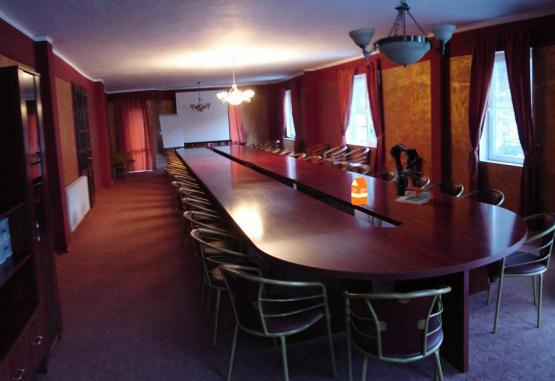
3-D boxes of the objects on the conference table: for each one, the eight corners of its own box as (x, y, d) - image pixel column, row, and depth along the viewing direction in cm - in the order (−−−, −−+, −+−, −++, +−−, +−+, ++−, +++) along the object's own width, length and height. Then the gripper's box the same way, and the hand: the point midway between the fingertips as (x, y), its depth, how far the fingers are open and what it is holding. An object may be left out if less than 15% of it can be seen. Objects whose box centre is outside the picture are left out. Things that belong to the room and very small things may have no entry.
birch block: (405, 198, 372) (405, 191, 371) (408, 196, 376) (408, 190, 375) (412, 198, 368) (412, 192, 367) (415, 197, 372) (415, 191, 371)
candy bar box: (408, 188, 409) (409, 169, 406) (407, 189, 405) (407, 170, 402) (395, 188, 415) (395, 169, 412) (394, 189, 410) (394, 170, 407)
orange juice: (351, 204, 358) (351, 177, 354) (360, 202, 362) (360, 176, 358) (358, 205, 351) (357, 178, 347) (367, 204, 355) (367, 177, 351)
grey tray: (395, 201, 360) (395, 197, 359) (403, 198, 368) (403, 195, 368) (420, 204, 346) (420, 200, 346) (428, 201, 355) (428, 197, 354)
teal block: (419, 199, 364) (419, 193, 363) (423, 198, 368) (423, 192, 367) (426, 200, 360) (426, 194, 359) (430, 199, 364) (430, 192, 363)
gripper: (394, 165, 368) (394, 185, 371) (417, 167, 356) (416, 187, 358) (401, 163, 376) (401, 183, 379) (424, 165, 364) (423, 185, 366)
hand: (410, 185), depth 370 cm, fingers open, 9 cm apart
